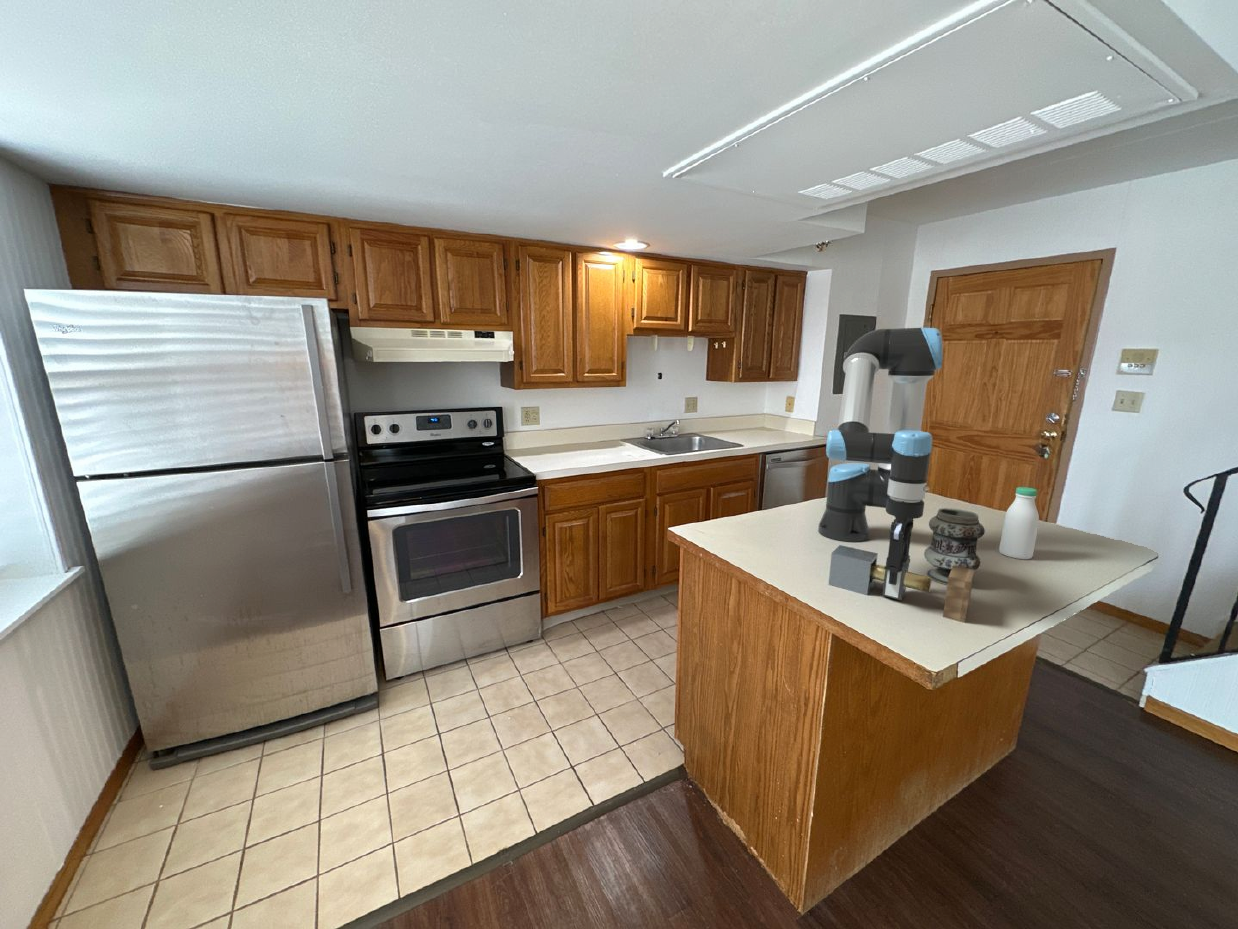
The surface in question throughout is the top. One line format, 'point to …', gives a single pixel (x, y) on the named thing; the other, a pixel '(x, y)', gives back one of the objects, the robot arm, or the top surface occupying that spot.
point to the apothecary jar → (953, 542)
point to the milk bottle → (1020, 525)
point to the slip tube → (902, 578)
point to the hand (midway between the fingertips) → (894, 591)
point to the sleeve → (852, 569)
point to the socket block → (958, 593)
